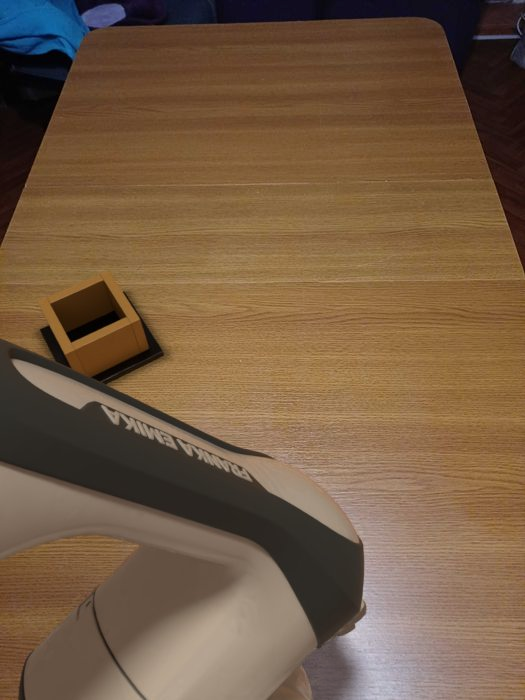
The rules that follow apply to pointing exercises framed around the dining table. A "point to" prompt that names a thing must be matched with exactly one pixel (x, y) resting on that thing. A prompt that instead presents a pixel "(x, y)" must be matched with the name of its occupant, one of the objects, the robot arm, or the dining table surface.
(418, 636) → the dining table surface
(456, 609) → the dining table surface
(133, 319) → the open wooden box
